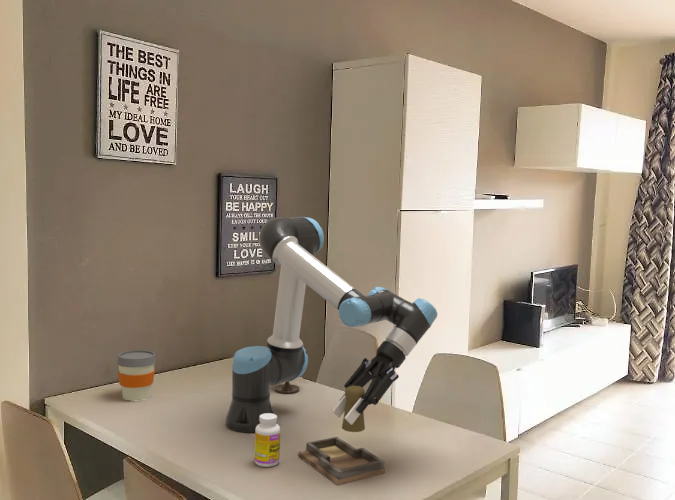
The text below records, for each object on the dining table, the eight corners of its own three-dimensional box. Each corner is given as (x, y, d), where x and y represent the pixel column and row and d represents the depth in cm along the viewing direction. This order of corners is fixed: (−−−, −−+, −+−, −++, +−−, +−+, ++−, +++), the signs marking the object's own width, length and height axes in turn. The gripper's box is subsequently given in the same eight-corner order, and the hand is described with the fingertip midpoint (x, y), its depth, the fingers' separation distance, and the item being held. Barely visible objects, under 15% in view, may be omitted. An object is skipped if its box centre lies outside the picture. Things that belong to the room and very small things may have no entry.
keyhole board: (298, 455, 178) (298, 444, 178) (343, 445, 186) (344, 435, 186) (336, 484, 161) (337, 472, 161) (385, 472, 169) (385, 460, 169)
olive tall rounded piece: (363, 433, 165) (364, 391, 164) (339, 430, 166) (341, 389, 165) (366, 424, 171) (368, 384, 170) (344, 422, 172) (345, 382, 171)
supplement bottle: (269, 470, 168) (270, 422, 167) (249, 463, 172) (250, 416, 171) (284, 461, 174) (285, 415, 173) (265, 455, 177) (266, 410, 176)
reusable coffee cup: (163, 396, 224) (163, 353, 223) (134, 405, 214) (134, 361, 212) (138, 389, 231) (138, 348, 230) (109, 398, 220) (109, 355, 219)
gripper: (424, 365, 167) (370, 438, 160) (382, 349, 183) (331, 415, 175) (409, 347, 164) (353, 420, 157) (368, 332, 179) (315, 398, 172)
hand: (341, 417), depth 166 cm, fingers closed on olive tall rounded piece, 5 cm apart
